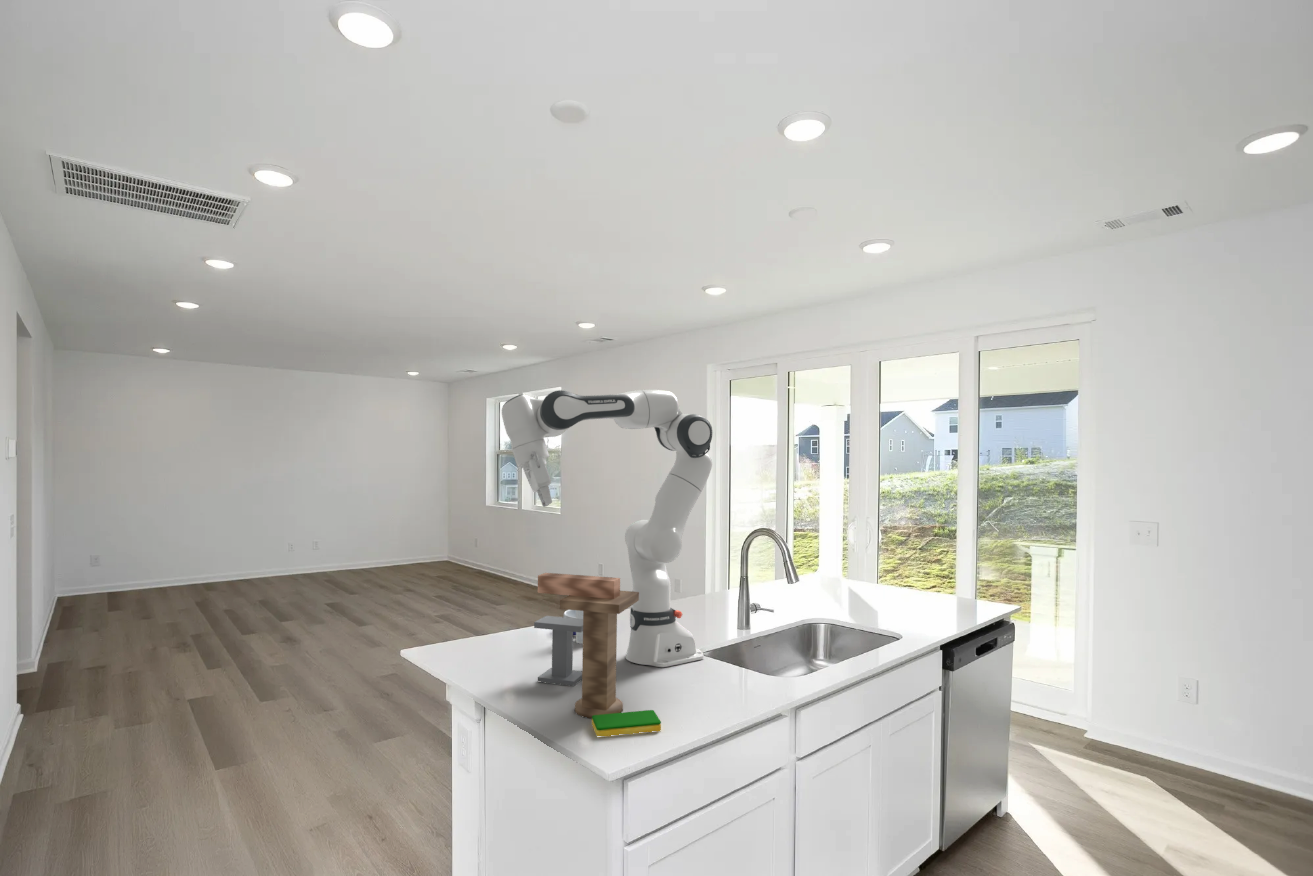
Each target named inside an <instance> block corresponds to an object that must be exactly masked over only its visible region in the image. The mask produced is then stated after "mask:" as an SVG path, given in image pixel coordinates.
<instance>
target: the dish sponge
mask: <svg viewBox="0 0 1313 876" xmlns="http://www.w3.org/2000/svg"><path fill="white" fill-rule="evenodd" d="M592 725H593V726H592ZM591 726H592V728H594V729H593V731H594V733H596V734H595V736H596V735H597V736H608V737H612V736H611V735H619V734H629V735H634V734H633V733H639V732H650V733H653V732H652V731H660V730H661V731H662V721H661V720H660V718H659V717H658V715H657V714H656V712H655V710H653V709H648V710H647V709H645V710H638V711H636V710H635V711H627V712H626V711H625V712H624V711H622V712H621V713H612V714H602V715H593V716H592V719H591ZM661 731H660V732H661ZM597 736H596V737H597ZM619 736H620V735H619Z"/></svg>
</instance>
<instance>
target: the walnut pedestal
mask: <svg viewBox="0 0 1313 876" xmlns="http://www.w3.org/2000/svg"><path fill="white" fill-rule="evenodd" d="M637 601H639V592H632V591H631V590H630V591H629V590H620V596H618V597H616V598H615V599H608V598H596V597H584V596H571V595H566V596H565V597H563V598H560V599H559V609H560V610H566V611H567V610H579V611H583V644H582V664H581V665H582V670H581V671H582V680H581V698H579V699H578V700H576V702H575V703H574V712H575V714H576V713H577V714H576V715H578V716H579V715H580V717H582V716H583V718H585V717H587V718H586V719H590V718H592V716H593V715H602V714H612V713H623V712H624V710H623V709H624V703H623V701H622V700H621V699H619V698H618V697H616V696H617V650H618V649H617V645H618V644H617V642H618V641H617V639H618V638H617V637H618V636H617V633H618V629H617V628H618V615H619V614H621V613H623V612H624V611H626V610H627V609H628V608H631V607H632V605H633V604H634V603H636V602H637Z"/></svg>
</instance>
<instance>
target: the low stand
mask: <svg viewBox="0 0 1313 876" xmlns="http://www.w3.org/2000/svg"><path fill="white" fill-rule="evenodd" d="M533 628H534V629H540V630H542V629H543V630H552V633H551V634H552V639H551V640H552V643H551V646H552V647H551V667H550V668H548V670H546V671H544V672H543V673H541V674H540V675H539V676H537V682H538V681H541V682H540V683H542V682H546V683H545V684H551V683H555V684H554V685H559V684H561V685H560V686H567V685H570V687H575V686H576V685H577V684H578V683H580V682H581V681H582V680H581V679H582V670H576V669H573V659H574V656H573V653H574V652H573V651H574V647H573V646H574V635H573V632H582V631H583V619H576V618H565V617H564V616H563V617H562V616H553V615H545V616H542V617H541V618H539V619H537V620H536V621H533ZM580 680H581V681H580ZM574 685H575V686H574Z"/></svg>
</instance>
